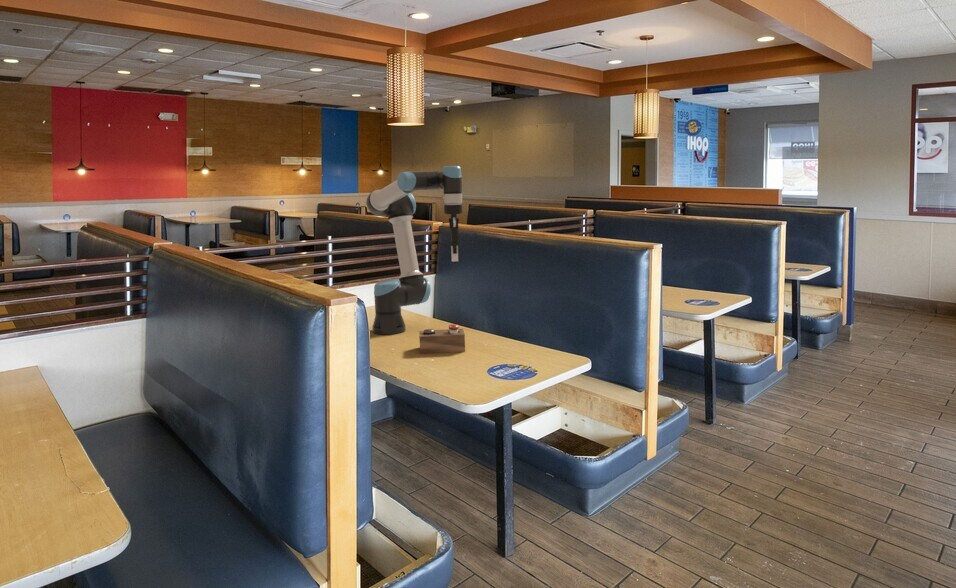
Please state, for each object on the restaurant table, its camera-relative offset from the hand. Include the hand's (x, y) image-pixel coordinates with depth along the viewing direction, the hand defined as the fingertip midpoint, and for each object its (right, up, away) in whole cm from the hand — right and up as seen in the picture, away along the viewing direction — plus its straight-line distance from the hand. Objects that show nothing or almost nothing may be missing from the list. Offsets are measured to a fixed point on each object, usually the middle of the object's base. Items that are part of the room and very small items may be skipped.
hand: (454, 261), depth 272 cm
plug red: (0, -34, -6) cm, 34 cm away
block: (-5, -36, -6) cm, 37 cm away
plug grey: (-10, -36, -7) cm, 38 cm away
